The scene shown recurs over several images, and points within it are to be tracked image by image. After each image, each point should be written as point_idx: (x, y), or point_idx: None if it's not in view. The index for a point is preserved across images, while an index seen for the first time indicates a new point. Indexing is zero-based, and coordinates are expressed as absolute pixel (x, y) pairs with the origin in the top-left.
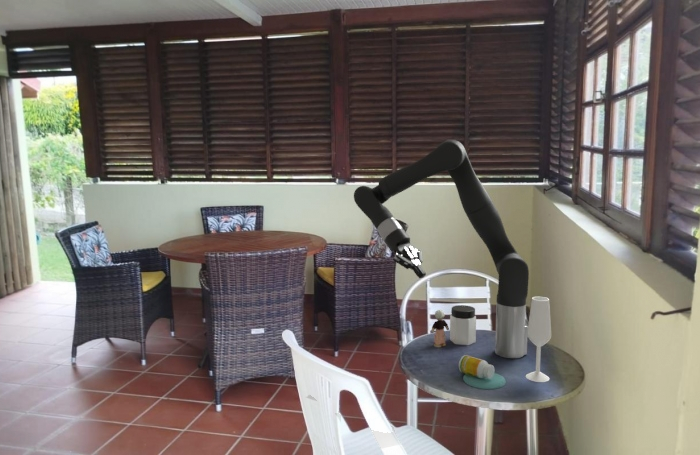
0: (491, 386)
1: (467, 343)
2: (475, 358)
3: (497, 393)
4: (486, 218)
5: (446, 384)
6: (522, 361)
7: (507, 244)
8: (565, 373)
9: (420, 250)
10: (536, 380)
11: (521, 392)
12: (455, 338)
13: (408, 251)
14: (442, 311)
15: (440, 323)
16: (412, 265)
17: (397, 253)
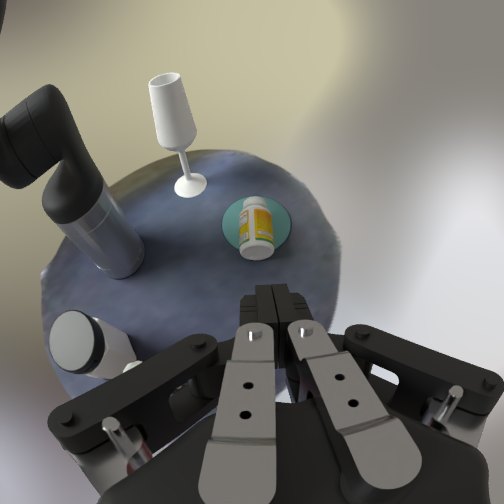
0: (271, 203)
1: (125, 334)
2: (255, 220)
3: (280, 191)
4: None
5: (316, 253)
6: (143, 225)
7: None
8: (154, 172)
9: (72, 414)
10: (204, 179)
11: (252, 176)
12: (131, 356)
13: (355, 427)
14: (128, 368)
15: None
16: (339, 337)
17: (474, 437)
